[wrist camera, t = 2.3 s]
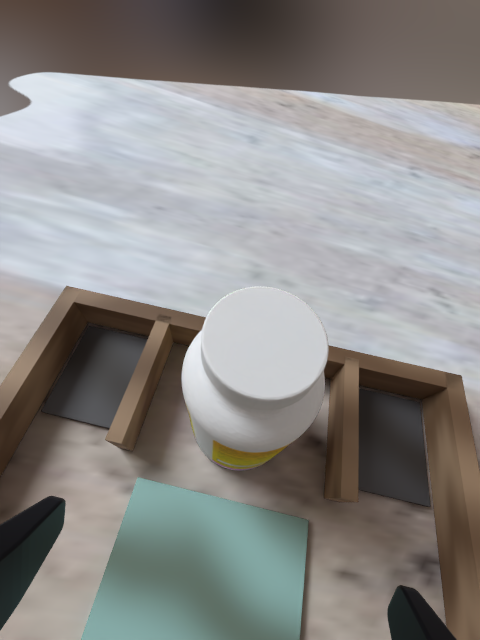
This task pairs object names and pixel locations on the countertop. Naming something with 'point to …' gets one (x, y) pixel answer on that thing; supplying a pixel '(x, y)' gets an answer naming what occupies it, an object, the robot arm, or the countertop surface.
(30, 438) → the countertop surface
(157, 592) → the wooden compartment box
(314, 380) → the supplement bottle
